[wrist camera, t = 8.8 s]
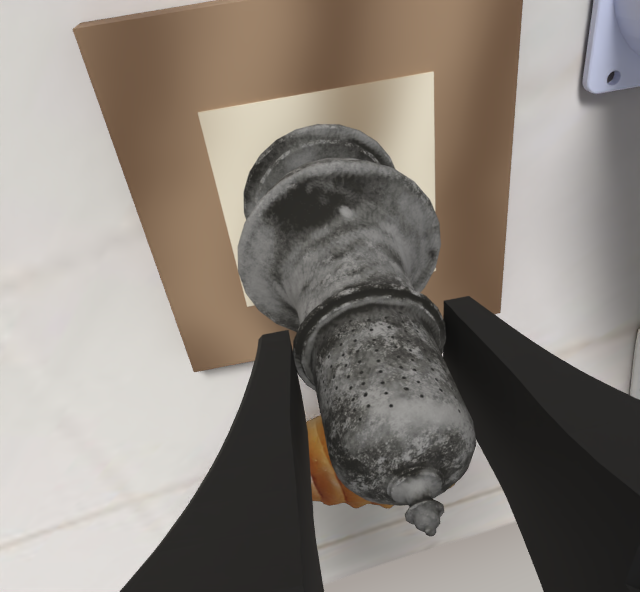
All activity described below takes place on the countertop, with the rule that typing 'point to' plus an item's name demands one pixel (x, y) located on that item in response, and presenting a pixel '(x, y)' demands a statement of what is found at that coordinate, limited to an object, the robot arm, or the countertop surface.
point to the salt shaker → (359, 311)
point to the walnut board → (297, 112)
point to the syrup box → (636, 370)
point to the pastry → (328, 472)
